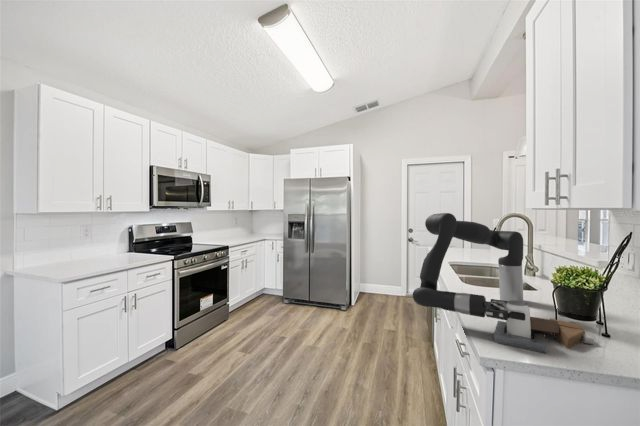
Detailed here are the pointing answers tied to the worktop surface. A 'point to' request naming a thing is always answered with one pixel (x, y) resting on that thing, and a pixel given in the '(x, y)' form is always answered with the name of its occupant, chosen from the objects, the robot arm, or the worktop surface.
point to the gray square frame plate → (520, 339)
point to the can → (516, 325)
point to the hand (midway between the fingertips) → (525, 313)
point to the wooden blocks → (561, 331)
